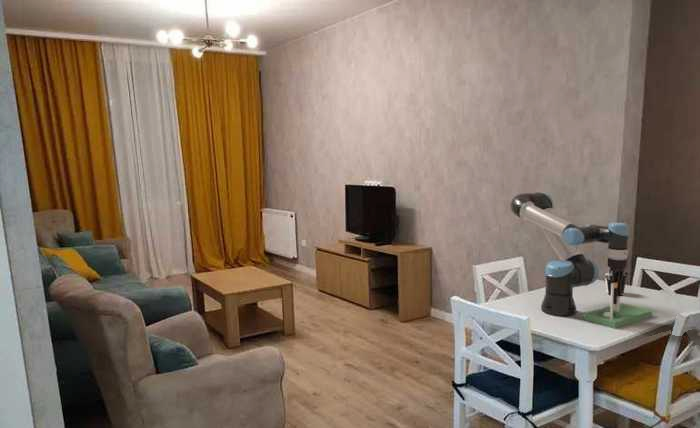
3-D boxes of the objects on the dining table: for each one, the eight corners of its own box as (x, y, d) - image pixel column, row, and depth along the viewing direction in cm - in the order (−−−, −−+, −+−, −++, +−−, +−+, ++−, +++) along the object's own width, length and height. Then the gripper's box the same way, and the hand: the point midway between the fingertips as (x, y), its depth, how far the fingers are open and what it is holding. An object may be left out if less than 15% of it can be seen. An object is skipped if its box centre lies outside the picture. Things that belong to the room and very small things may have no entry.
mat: (614, 328, 197) (614, 322, 197) (583, 319, 210) (584, 313, 209) (651, 316, 211) (651, 310, 211) (620, 308, 223) (620, 302, 223)
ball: (610, 321, 208) (604, 323, 206) (604, 313, 210) (599, 315, 208) (616, 317, 205) (611, 319, 203) (611, 309, 207) (605, 311, 205)
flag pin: (611, 320, 199) (613, 284, 198) (609, 320, 200) (610, 283, 198) (616, 319, 201) (618, 282, 199) (614, 318, 202) (615, 282, 200)
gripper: (617, 261, 200) (615, 315, 203) (634, 257, 206) (632, 310, 209) (600, 258, 206) (598, 310, 209) (617, 255, 213) (615, 305, 215)
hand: (615, 310), depth 209 cm, fingers closed
